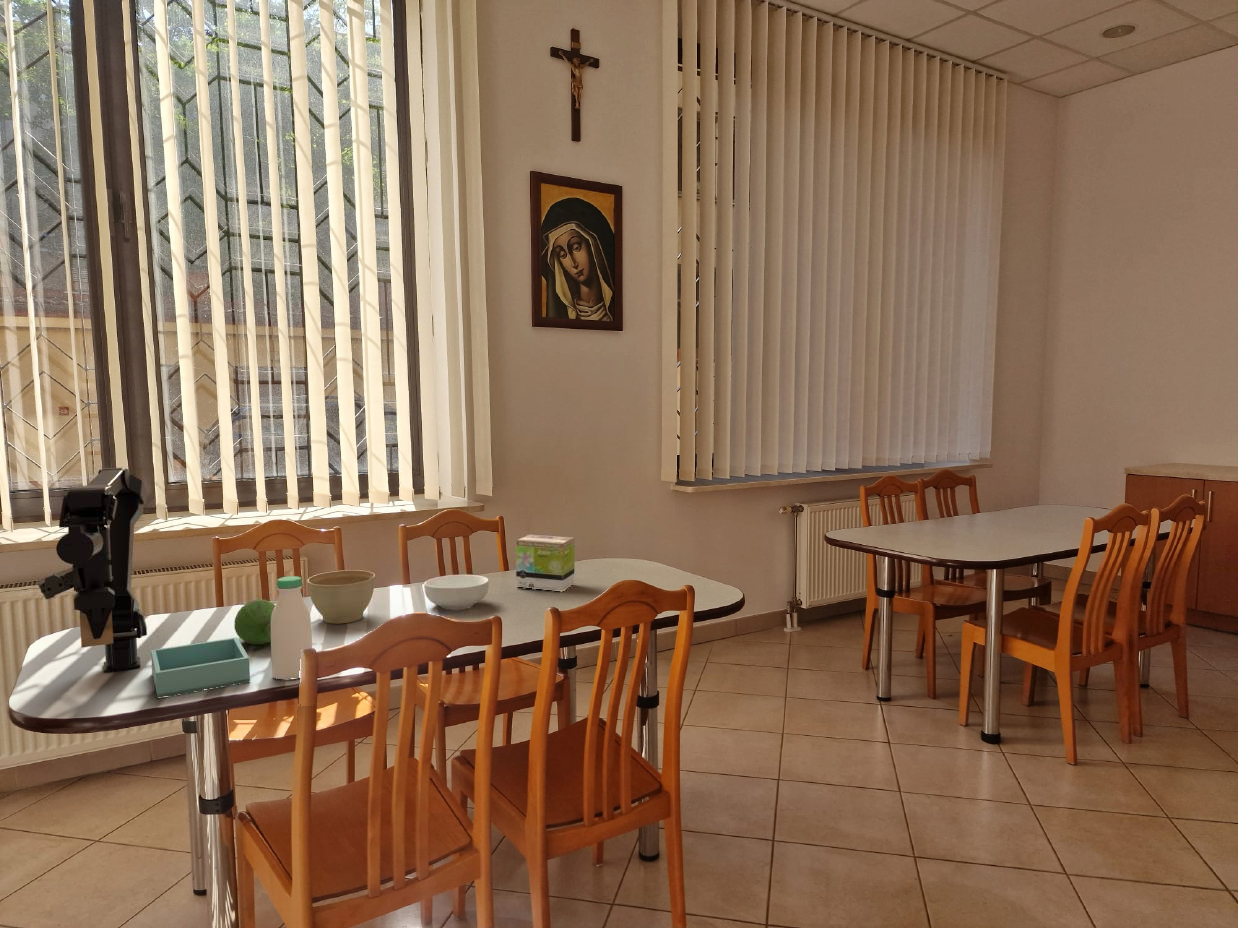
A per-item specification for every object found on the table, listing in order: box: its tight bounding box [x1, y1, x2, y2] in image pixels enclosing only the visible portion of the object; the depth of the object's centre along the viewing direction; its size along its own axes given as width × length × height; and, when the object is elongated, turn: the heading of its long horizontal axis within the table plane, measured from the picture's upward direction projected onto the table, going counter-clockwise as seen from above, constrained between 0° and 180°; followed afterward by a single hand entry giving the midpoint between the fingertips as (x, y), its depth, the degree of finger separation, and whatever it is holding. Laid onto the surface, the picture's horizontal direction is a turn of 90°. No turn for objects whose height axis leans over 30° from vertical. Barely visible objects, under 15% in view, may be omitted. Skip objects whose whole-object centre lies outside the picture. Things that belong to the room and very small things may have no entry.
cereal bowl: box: [423, 574, 490, 611], centre depth 217 cm, size 17×17×7 cm
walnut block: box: [79, 611, 113, 649], centre depth 153 cm, size 5×5×6 cm
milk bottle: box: [270, 575, 313, 680], centre depth 163 cm, size 8×8×20 cm
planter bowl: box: [307, 569, 376, 625], centre depth 204 cm, size 16×16×11 cm
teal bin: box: [150, 636, 251, 698], centre depth 162 cm, size 16×16×5 cm
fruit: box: [233, 599, 276, 646], centre depth 183 cm, size 15×10×10 cm, turn 35°
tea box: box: [515, 533, 575, 590], centre depth 237 cm, size 15×10×15 cm
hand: (97, 634), depth 153 cm, fingers closed on walnut block, 5 cm apart
